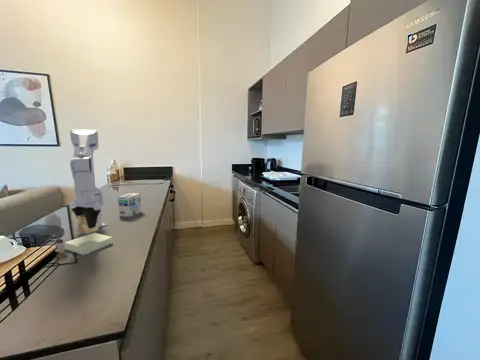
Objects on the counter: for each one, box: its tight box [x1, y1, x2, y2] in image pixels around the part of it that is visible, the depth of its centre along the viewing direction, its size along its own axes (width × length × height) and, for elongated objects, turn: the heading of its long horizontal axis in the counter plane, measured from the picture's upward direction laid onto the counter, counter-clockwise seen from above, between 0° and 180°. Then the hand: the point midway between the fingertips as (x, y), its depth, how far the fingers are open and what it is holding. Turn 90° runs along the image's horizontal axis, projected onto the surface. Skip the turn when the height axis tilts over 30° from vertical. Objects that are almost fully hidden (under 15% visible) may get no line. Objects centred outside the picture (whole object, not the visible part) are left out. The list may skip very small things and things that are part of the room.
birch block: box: [76, 215, 99, 235], centre depth 89 cm, size 4×4×6 cm
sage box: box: [64, 232, 114, 256], centre depth 90 cm, size 11×11×3 cm
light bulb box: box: [117, 192, 142, 218], centre depth 131 cm, size 11×7×11 cm, turn 168°
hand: (87, 226), depth 89 cm, fingers closed on birch block, 4 cm apart
